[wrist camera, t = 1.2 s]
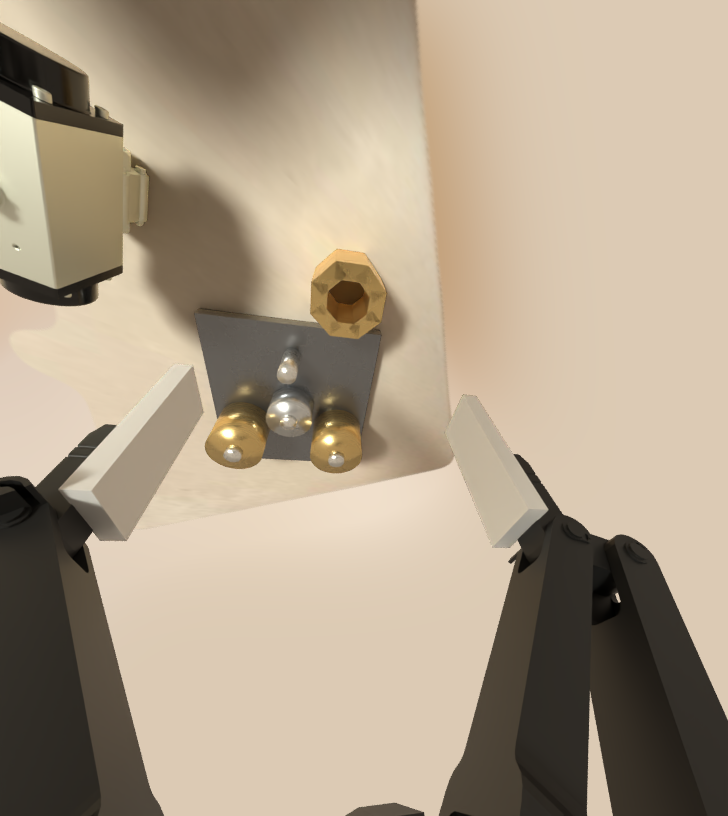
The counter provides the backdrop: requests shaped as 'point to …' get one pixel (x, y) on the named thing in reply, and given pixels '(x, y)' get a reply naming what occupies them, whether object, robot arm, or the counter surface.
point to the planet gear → (345, 316)
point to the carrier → (285, 390)
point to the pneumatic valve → (60, 179)
